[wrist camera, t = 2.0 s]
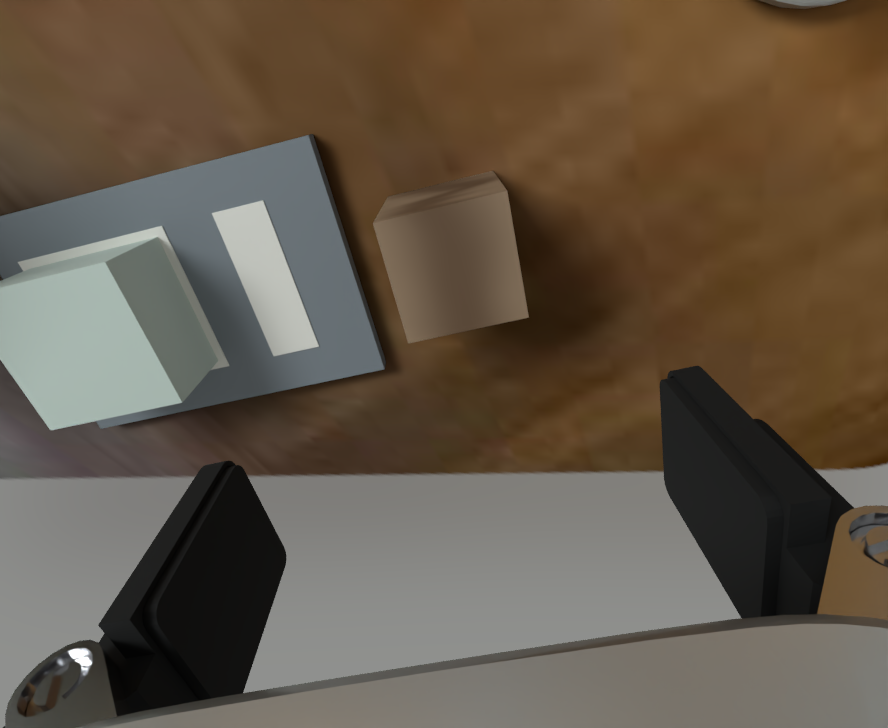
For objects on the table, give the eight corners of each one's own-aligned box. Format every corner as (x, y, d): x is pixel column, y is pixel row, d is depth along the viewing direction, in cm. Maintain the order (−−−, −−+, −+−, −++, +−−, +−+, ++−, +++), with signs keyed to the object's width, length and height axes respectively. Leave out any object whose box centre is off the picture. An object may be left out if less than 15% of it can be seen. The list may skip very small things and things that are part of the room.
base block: (157, 236, 29) (104, 262, 24) (218, 360, 32) (182, 402, 28) (30, 268, 29) (-44, 298, 25) (103, 385, 33) (50, 430, 29)
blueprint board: (312, 134, 27) (308, 135, 26) (386, 362, 33) (384, 369, 32) (-19, 221, 29) (-34, 225, 28) (109, 420, 35) (100, 429, 35)
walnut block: (492, 170, 28) (507, 190, 22) (511, 273, 31) (528, 317, 25) (388, 196, 29) (372, 223, 22) (415, 295, 31) (408, 343, 25)
